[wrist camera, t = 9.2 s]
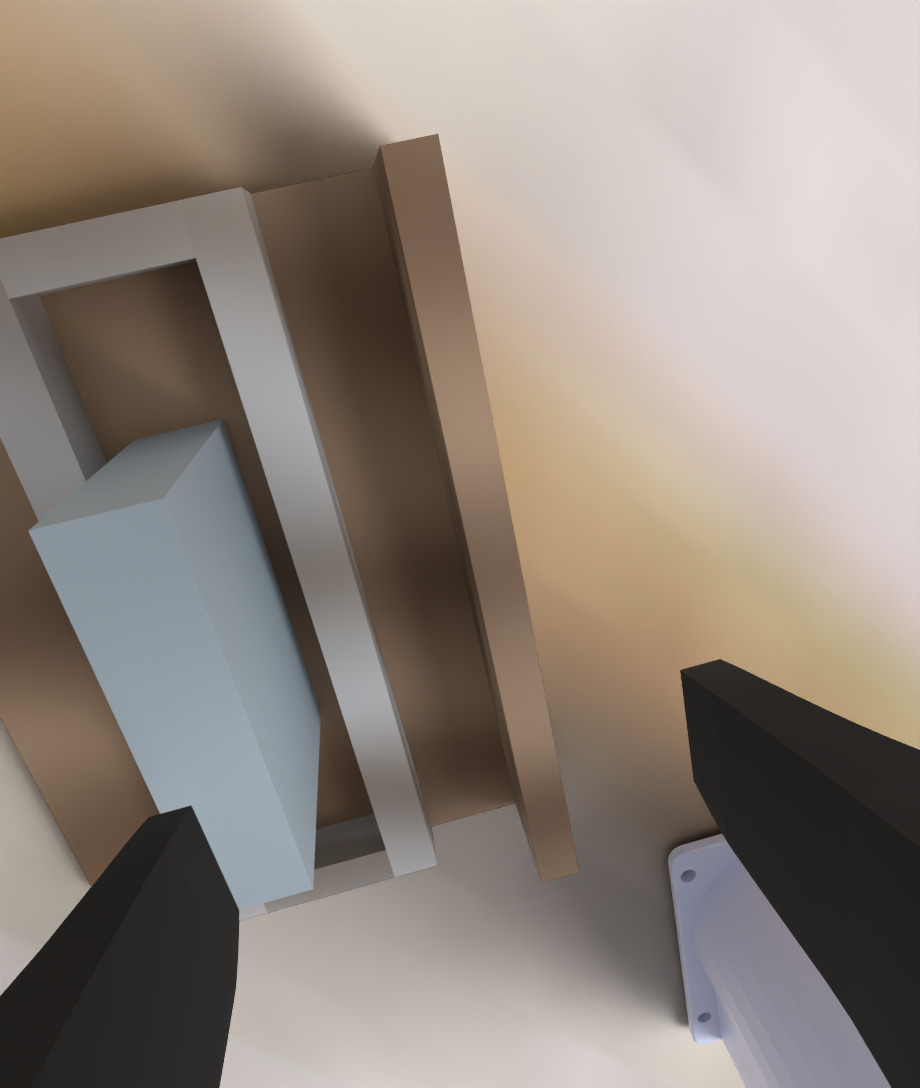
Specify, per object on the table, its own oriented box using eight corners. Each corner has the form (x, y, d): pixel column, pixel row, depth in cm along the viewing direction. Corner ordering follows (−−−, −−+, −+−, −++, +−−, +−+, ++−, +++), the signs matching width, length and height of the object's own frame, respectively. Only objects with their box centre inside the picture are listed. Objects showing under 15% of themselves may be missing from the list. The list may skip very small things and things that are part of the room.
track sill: (541, 776, 22) (578, 872, 19) (115, 893, 22) (71, 1016, 18) (416, 162, 16) (438, 133, 12) (-199, 295, 15) (-362, 304, 12)
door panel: (320, 711, 19) (312, 889, 14) (246, 730, 19) (208, 917, 14) (223, 419, 16) (163, 498, 11) (133, 439, 16) (28, 530, 11)
